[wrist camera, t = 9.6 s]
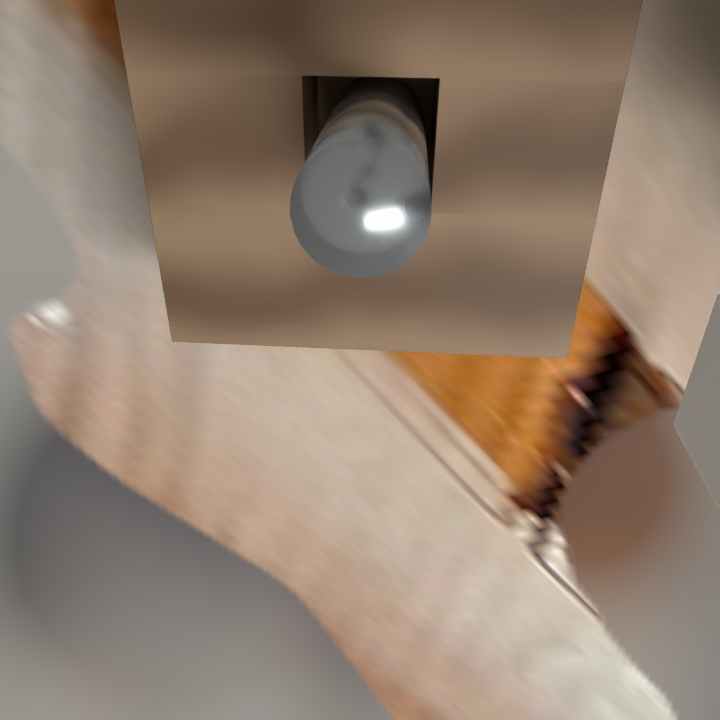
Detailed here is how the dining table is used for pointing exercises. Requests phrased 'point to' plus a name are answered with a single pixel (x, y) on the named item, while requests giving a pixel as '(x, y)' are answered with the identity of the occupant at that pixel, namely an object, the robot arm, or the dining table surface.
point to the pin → (366, 182)
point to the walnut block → (444, 154)
